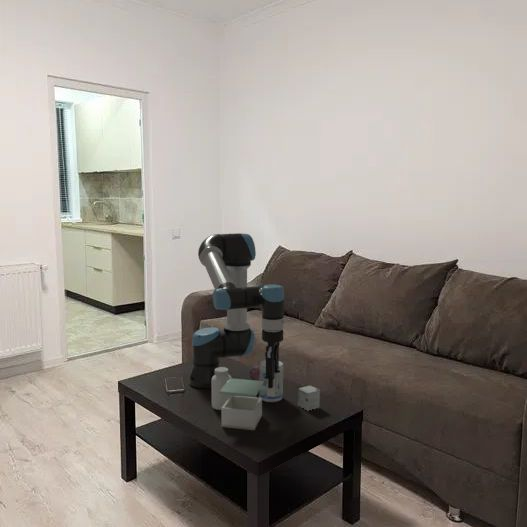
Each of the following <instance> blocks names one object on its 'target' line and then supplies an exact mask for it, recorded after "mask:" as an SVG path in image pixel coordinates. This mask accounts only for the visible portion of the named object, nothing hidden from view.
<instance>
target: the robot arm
mask: <svg viewBox="0 0 527 527" xmlns="http://www.w3.org/2000/svg"><path fill="white" fill-rule="evenodd" d="M197 253H198V254H197V255H198V259H199V262H200V263H201V265H202V266H203V267H205V270H206V272H207V274H208V277H209V279H210V281H211V284H212V285H213V289H214V290H213V292H212V303H213V307H214V309H215V310H219V311H220V310H222V311H223V310H224V311H226V312H227V313H226V323H225V324H224V325H223V330H220V329H219V328H218V327H215V326H213V327H211V326H210V327H209V326H208V327H204V328H200V329H197V330H196V331H194V333H193V334H192V341H191V344H192V367H191V370H190V374H189V377H188V385H190V386H191V387H194V388H199V389H212V385H211V380H212V377H213V376H214V375H215V369H216V368H218V367H221V364H220V362H221V360H220V359H223V358H224V359H225V358H233V357H235V358H236V357H244V356H249V355H250V354H252V352H253V350H254V347H255V342H256V341H255V340H256V337H255V331H254V329H252V328H251V325H250V324H249V323H248V321H247V320H248V319H247V318H248V316H247V315H248V309H252V308H253V309H255V308H260V309H261V328H262V330H261V340H262V342H265V343H267V345H266V346H265V353H264V356H265V360H266V377H265V379H267V396H273V397H275V391H276V392H277V383H278V373H280V370H278V369H279V361H280V343H281V342H283V341H284V324H285V323H286V320H284V314H285V313H284V311H285V310H284V308H285V306H284V305H285V290H284V286H282V285H279V284H256V285H254V286H248V268H250V266H251V265H252V261H254V260H255V259H256V254H257V252H256V246H255V241H254V239H253V237H252V236H251V235H250V234H249V233H242V232H241V233H221V234H220V233H216V234H212V235H209V236H208V237H206V238H205V239H204V240H203V241H202V242H201V244H200V245H199V248H198V252H197ZM274 373H276V389H275V378H274Z"/></svg>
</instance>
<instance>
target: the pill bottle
mask: <svg viewBox="0 0 527 527" xmlns="http://www.w3.org/2000/svg"><path fill="white" fill-rule="evenodd" d="M230 378H232V375H230V374H229V368H228V367H225V366H220V367H218V368H216V369H215V375H214V376H213V377H212V380H211V385H212V388H211V407H212V409H213V410H217V411H221V408H222V407H223V405H224V404H225V402H226V401H227V400H228V398H229V397H230V395H231V394H220V390H221V389H222V388H223V386H224V385H225V384H226V383H227V381H228V380H229V379H230Z"/></svg>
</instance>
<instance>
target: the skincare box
mask: <svg viewBox="0 0 527 527" xmlns="http://www.w3.org/2000/svg"><path fill="white" fill-rule="evenodd" d="M320 395H321V390H320V389H319V388H317V387H315V386H312V385H307V386H303V387H299V388H298V401H297V402H298V403H297V406H298V407H299V406H300V407H299V408H301V409H303V408H304V409H303V410H304V411H306V410H307V411H306V412H310V411H309V410H311V411H312V409H314V410H317V409H320V402H321V401H320V399H321V396H320ZM316 408H317V409H316Z"/></svg>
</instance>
